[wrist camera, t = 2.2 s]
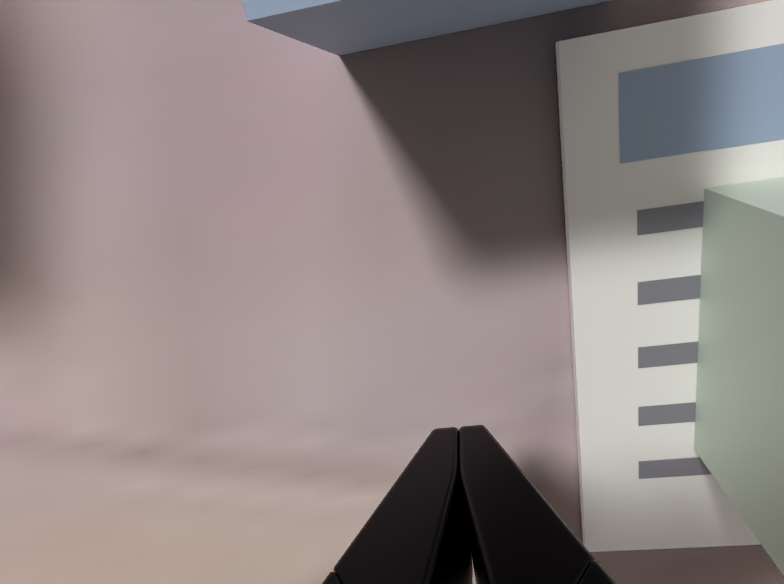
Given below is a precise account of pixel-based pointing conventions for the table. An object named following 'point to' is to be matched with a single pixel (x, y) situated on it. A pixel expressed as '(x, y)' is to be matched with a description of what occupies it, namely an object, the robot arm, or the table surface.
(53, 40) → the table surface
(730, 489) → the sage block
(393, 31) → the slate-blue cube
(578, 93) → the letter
